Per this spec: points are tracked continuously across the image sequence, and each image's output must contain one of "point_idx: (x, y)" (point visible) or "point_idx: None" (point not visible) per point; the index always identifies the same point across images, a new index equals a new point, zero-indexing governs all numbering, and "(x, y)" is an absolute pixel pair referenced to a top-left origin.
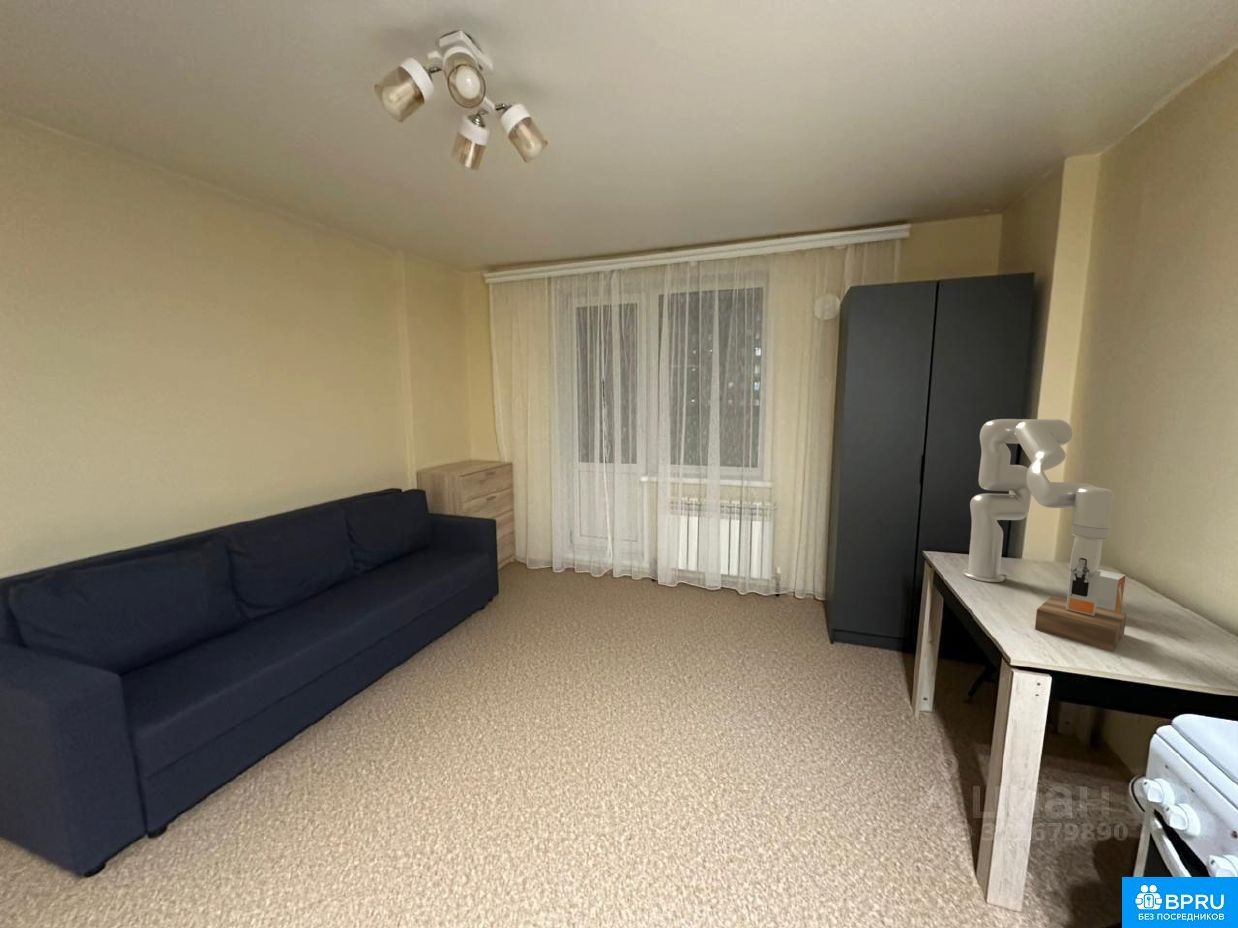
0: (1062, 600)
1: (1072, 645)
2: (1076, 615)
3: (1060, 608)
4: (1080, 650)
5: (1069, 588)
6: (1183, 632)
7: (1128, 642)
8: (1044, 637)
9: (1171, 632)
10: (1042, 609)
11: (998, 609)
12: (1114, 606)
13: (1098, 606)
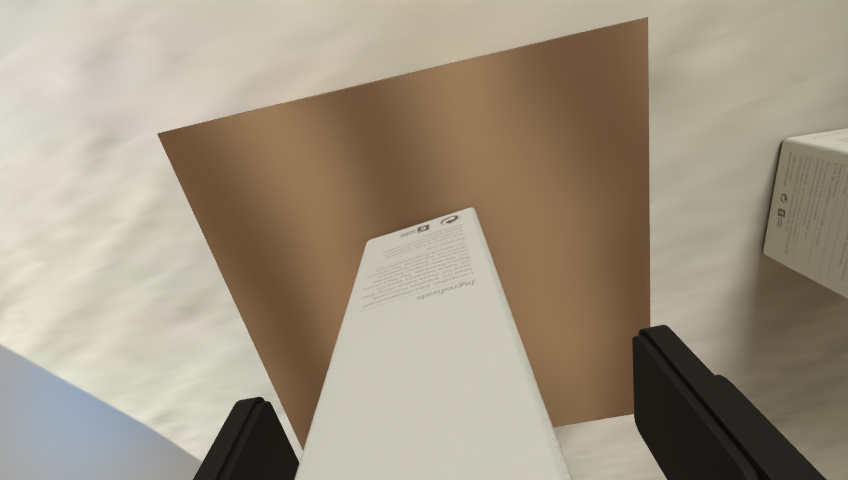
0: (594, 124)
1: (224, 291)
2: (324, 311)
3: (364, 206)
4: (206, 326)
5: (332, 359)
6: (836, 415)
7: None
8: (178, 194)
9: (797, 399)
10: (202, 155)
11: None
12: (842, 293)
13: (834, 212)
